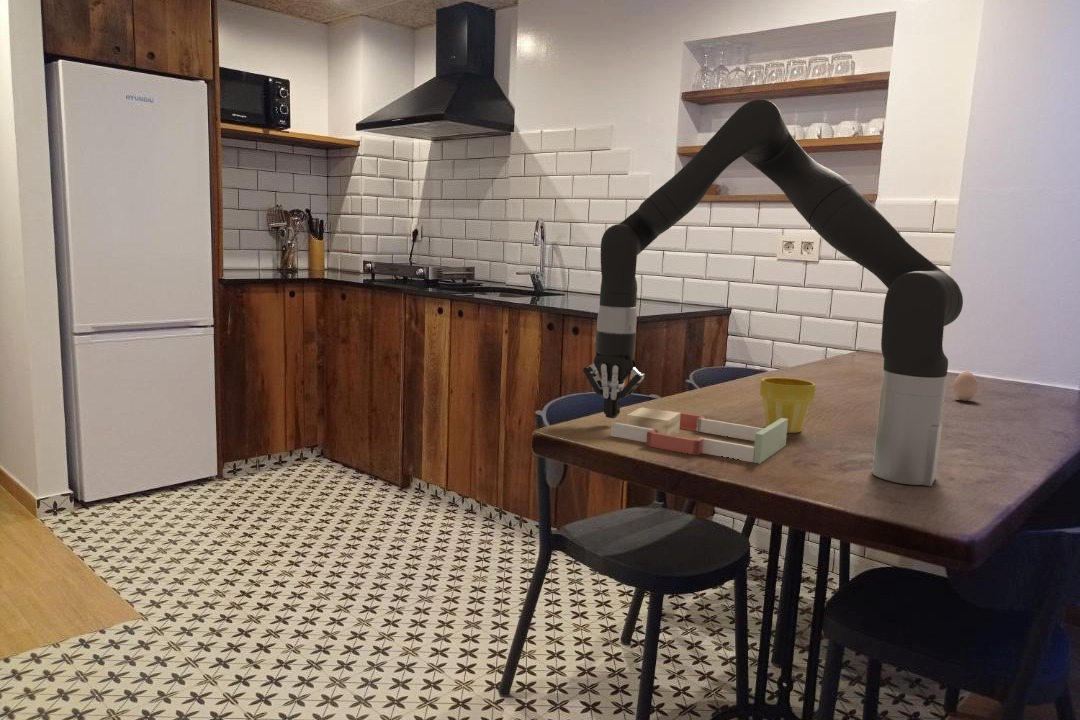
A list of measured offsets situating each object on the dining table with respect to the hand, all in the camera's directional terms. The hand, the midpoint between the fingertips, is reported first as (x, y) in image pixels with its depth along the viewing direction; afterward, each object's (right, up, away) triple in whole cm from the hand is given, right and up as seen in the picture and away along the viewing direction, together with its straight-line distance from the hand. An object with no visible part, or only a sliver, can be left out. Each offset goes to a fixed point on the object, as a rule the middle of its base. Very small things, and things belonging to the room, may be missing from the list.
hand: (611, 417), depth 159 cm
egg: (+92, +1, +43) cm, 101 cm away
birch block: (+8, -3, -4) cm, 9 cm away
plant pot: (+35, -3, +3) cm, 35 cm away
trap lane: (+15, -4, -9) cm, 18 cm away
